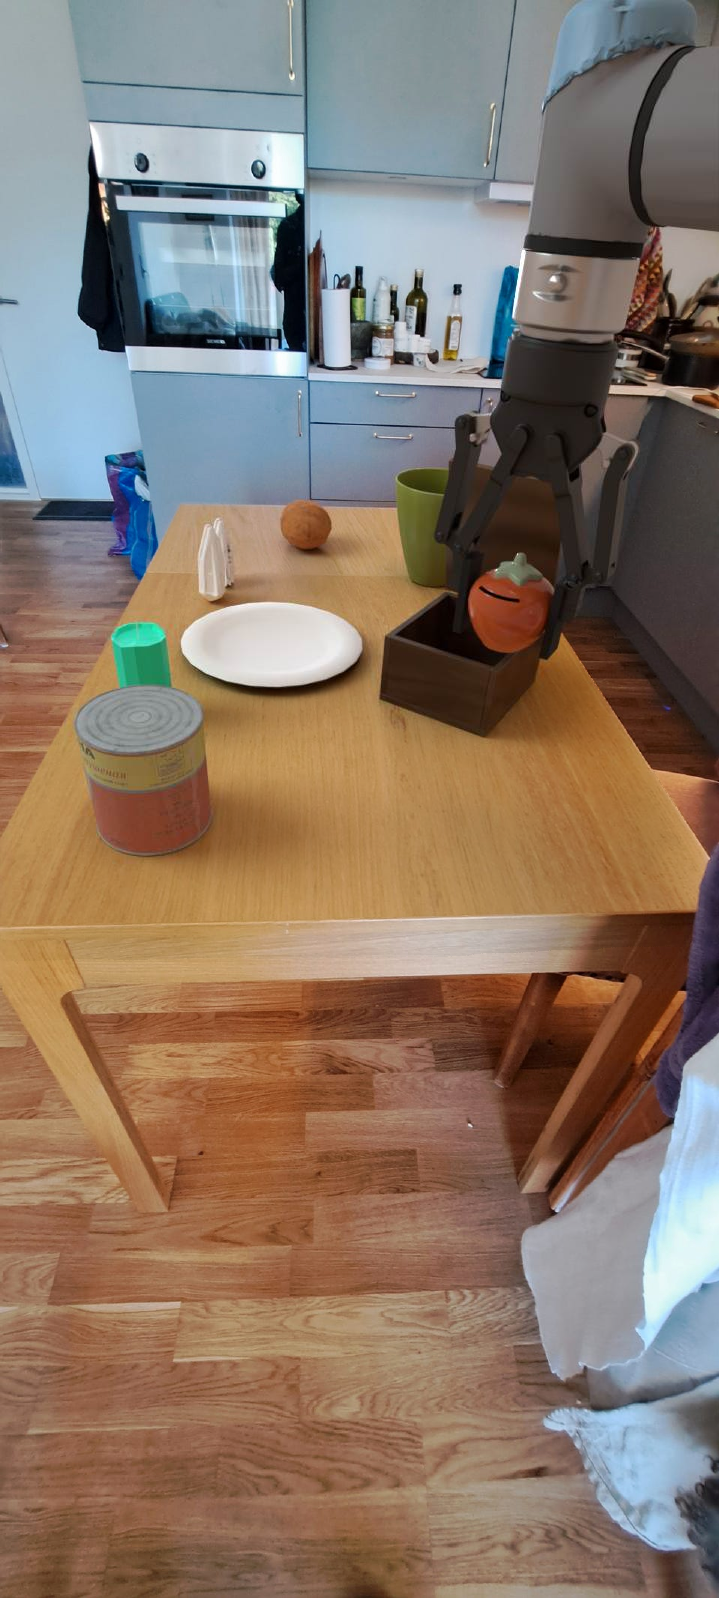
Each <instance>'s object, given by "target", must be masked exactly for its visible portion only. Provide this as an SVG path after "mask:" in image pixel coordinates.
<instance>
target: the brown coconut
mask: <svg viewBox="0 0 719 1598" xmlns="http://www.w3.org/2000/svg"><path fill="white" fill-rule="evenodd" d="M279 522H280V531H281V534H282V537H284V538H285V540H286V541H287V542H288V543H289V544H290V545H292V546H293V547H296V548H298V549H301V550H312V549H315V548H318V547H320V546H322V545H324V544H325V543H326V542H327V541H328V538H329V537H330V534H331V532H332V530H333V526H332V523H333V522H332V520H331V517H330V514H329V513H328V511H327V510H326V509H325V508H324V507H323V506H322V505H320V504H319V503H318V502H316V501H314V500H311V499H296V500H293V501H291V502H289V503H287V504H286V505H284V507H283V510H282V512H281V516H280V521H279Z"/></svg>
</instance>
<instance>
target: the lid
mask: <svg viewBox="0 0 719 1598" xmlns="http://www.w3.org/2000/svg"><path fill="white" fill-rule="evenodd" d="M452 461H453V457H451V458H450V459H449V460H448V468H447V469H448V477H449V473H450V469H451V465H452ZM494 467H495V466H492V465H488V464H483V463H479V462H478V464H477V467H476V471H475V475H474V478H473V482H472V486H471V489H470V493H469V497H468V500H467V504H466V507H465V511H464V515H463V518H462V522H461V526H460V529H461V530H462V528H463V526H464V525H465V523H466V521H467V519H468V517H469V516H470V514H471V512H472V510H473V508H474V506H475V505H476V503H477V501H478V499H479V497H480V496H481V494H482V492H483V490H484V488H485V487H486V485H487V483H488V481H489V479H490V474H491V472H492V471H493V469H494ZM478 543H479V545H477V546H476V547H474V551H476V550H477V551H481V552H484V557H483V563H482V569H481V575H482V574H483V573H485V572H486V571H488V570H491V569H494V568H498V567H500V563H501V562H503V561H514V559H515V557H516V555H517V554H518V553H524V554H525V555H526V563H529V564H531V565H533V567H534V568H535V569H537V570H538V571H539V572H540V573H541V574H542V576H543V577H545V578H546V579H547V580H548V581H549V582H550V584H551V585H552V586H553V588H554V589H555V586H556V583H558V577H559V570H560V563H561V556H562V552H563V549H562V541H561V534H560V527H559V520H558V512H557V505H556V499H555V498H554V496H553V493H552V487H551V483H547V482H542V481H540V480H539V479H537V478H535V477H532V476H531V477H519V476H517V477H516V479H515V480H514V481H513V483H512V485H511V486H510V488H509V490H508V492H507V493H506V495H505V497H504V498H503V500H502V502H501V504H500V505H499V507H498V509H497V511H496V512H495V514H494V516H493V517H492V519H491V521H490V523H489V524H488V526H487V528H486V530H485V531H484V533H483V535H482V537H481V538H480V540H479V542H478ZM452 563H453V552H452V550H451V549H450V548H449V547H448V546H446V579H445V586H444V589H445V591H449V592H452V593H456V594H457V593H458V592H456V591H452V590H451V589H450V578H451V570H452Z"/></svg>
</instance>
